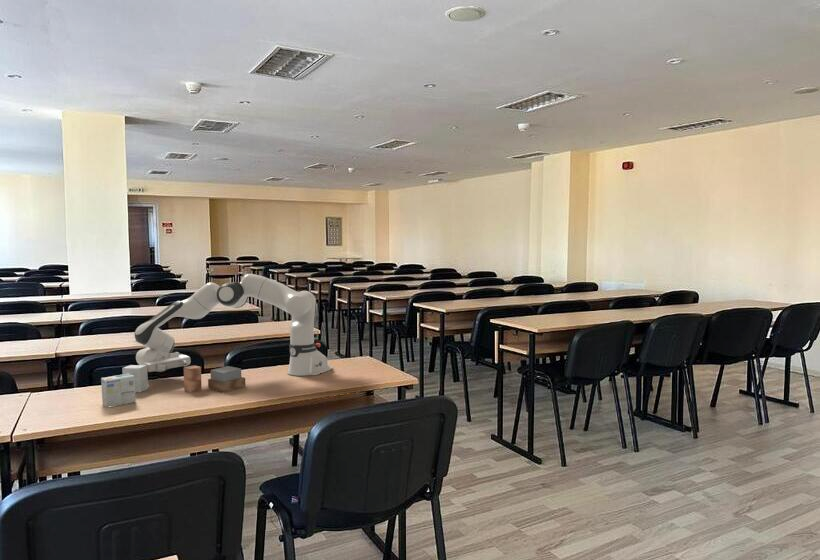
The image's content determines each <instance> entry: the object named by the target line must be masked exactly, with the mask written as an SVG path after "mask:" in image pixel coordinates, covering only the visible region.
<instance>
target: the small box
mask: <svg viewBox="0 0 820 560" xmlns="http://www.w3.org/2000/svg"><path fill="white" fill-rule="evenodd" d="M121 371H122V374H128V373H129V374H131V375H134V378H135V393H142V391H143V392H144V391H147V390H149V378H148V372H147V365H139V364H137V365H135V364H129V365H126V366H125V367H122V370H121ZM122 374H121V375H122Z"/></svg>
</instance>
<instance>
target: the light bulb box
mask: <svg viewBox="0 0 820 560" xmlns="http://www.w3.org/2000/svg"><path fill="white" fill-rule="evenodd" d="M100 383H101V385H100V386H101V398H102V399H101V401H102V405H103V404H104V405H105V406H106V408H107V407H108V408H110V407H109V406H113V407H118V406H117V405H119V406H122V404H124V405H127V404H128V403H129V404H133V403H132V402H134V403H136V402H137V400H136V392H135V378H134V375H131V374H129V373H128V374H119V375H118V374H117V375H112V376H107V377H106V376H105V377H101V378H100ZM104 405H103V406H104ZM105 406H104V407H105Z"/></svg>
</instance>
